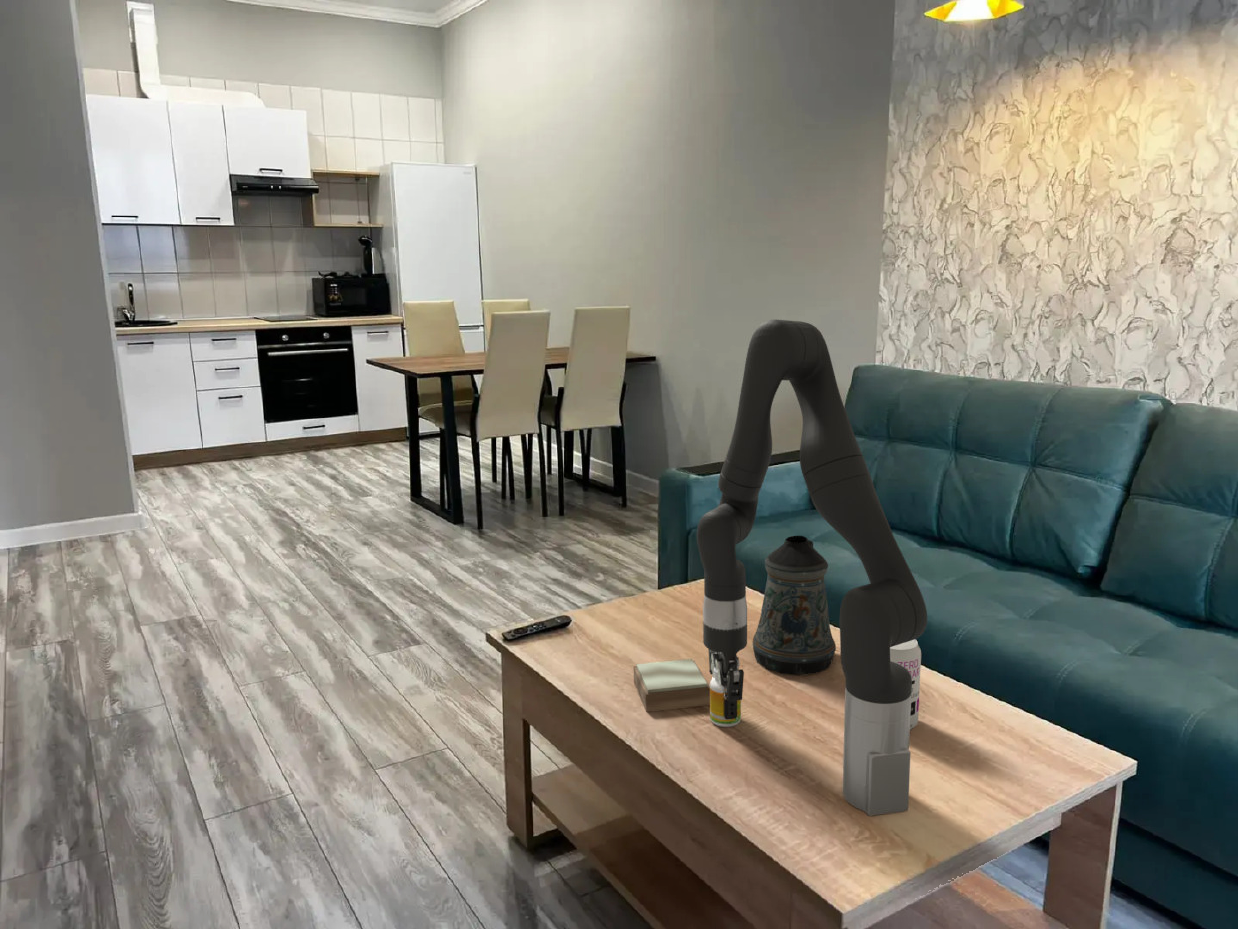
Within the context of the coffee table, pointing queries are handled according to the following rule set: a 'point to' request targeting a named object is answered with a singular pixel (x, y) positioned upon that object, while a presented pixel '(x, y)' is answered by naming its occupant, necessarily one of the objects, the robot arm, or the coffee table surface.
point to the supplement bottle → (720, 704)
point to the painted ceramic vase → (795, 612)
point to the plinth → (671, 685)
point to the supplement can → (910, 671)
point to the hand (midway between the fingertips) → (725, 709)
